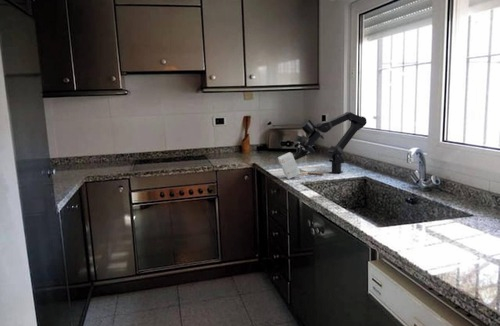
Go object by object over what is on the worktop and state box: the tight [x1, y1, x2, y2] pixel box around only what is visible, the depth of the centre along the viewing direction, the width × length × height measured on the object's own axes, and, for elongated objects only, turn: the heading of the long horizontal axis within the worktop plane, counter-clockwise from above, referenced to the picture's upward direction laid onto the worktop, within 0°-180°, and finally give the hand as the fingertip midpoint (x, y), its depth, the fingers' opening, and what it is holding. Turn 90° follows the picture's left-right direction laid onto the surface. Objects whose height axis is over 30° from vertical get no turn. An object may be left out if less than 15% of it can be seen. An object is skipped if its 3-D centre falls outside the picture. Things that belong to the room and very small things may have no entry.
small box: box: [277, 151, 301, 180], centre depth 214 cm, size 8×6×13 cm
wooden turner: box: [299, 171, 324, 176], centre depth 223 cm, size 6×16×1 cm, turn 58°
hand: (294, 159), depth 214 cm, fingers closed
